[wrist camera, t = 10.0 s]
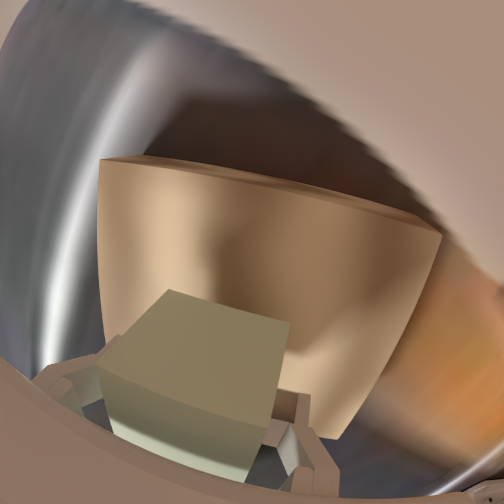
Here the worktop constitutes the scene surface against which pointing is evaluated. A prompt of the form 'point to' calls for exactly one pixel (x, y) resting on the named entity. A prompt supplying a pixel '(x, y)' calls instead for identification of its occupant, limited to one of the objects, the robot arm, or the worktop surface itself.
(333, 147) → the worktop surface
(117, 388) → the sage cube
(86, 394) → the robot arm
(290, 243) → the birch platform
